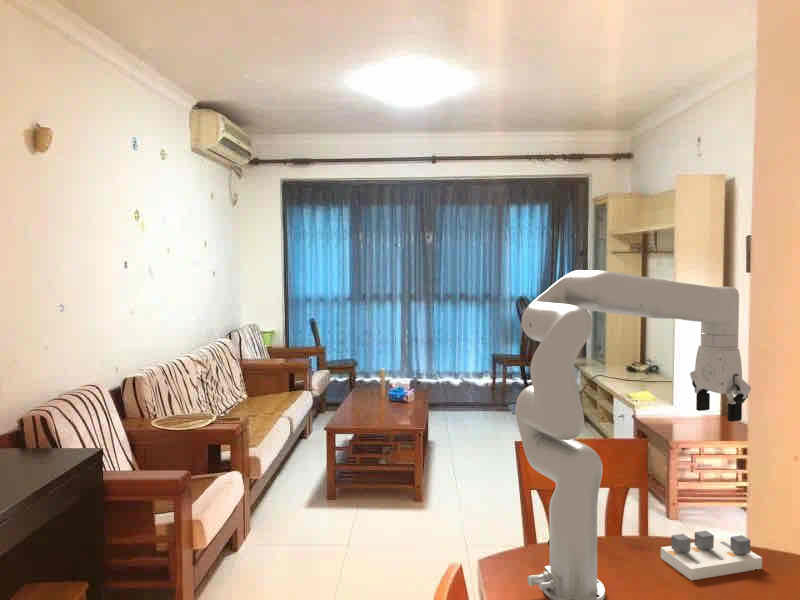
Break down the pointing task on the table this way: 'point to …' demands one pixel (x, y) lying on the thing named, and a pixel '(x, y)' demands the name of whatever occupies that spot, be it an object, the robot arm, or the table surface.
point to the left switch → (680, 543)
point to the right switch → (740, 545)
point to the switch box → (710, 560)
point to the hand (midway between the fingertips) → (718, 415)
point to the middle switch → (704, 540)
